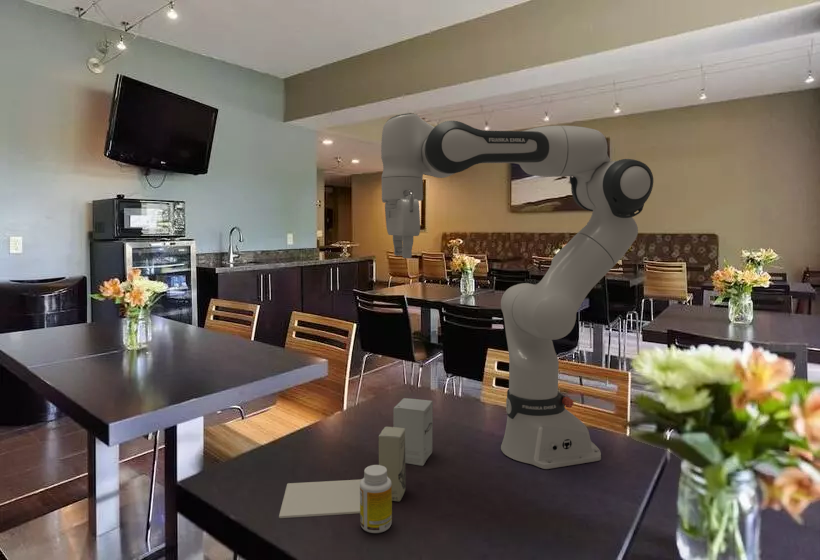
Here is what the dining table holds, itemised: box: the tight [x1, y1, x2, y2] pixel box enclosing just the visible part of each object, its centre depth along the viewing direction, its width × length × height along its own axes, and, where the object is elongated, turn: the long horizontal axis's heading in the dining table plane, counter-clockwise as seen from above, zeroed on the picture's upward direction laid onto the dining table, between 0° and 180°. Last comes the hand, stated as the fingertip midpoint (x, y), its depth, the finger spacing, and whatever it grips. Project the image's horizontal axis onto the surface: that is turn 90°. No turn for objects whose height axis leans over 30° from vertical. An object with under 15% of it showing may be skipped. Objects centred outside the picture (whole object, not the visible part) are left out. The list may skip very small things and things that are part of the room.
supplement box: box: [392, 397, 434, 467], centre depth 116 cm, size 7×7×13 cm
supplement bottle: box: [359, 464, 393, 534], centre depth 89 cm, size 6×6×10 cm
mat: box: [278, 478, 363, 519], centre depth 99 cm, size 18×12×1 cm, turn 96°
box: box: [378, 426, 407, 502], centre depth 100 cm, size 5×4×13 cm
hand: (402, 256), depth 111 cm, fingers open, 8 cm apart
